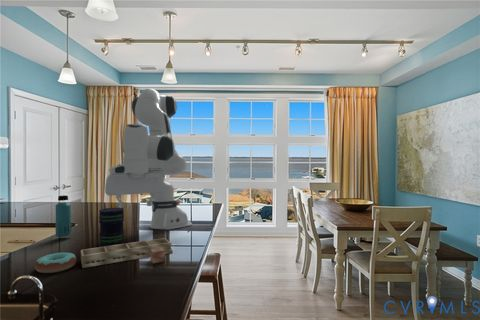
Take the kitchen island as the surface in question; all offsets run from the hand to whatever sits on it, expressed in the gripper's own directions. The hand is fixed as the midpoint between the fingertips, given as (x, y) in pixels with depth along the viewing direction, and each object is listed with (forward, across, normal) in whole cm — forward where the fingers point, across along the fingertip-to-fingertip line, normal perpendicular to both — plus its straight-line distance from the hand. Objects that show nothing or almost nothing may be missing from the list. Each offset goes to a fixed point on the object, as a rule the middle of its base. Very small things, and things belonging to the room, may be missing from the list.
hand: (135, 206), depth 106 cm
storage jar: (+19, +5, -28) cm, 34 cm away
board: (+19, +2, -8) cm, 21 cm away
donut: (+20, +24, -7) cm, 32 cm away
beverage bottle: (+19, +23, -50) cm, 58 cm away
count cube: (+19, -7, +4) cm, 21 cm away
